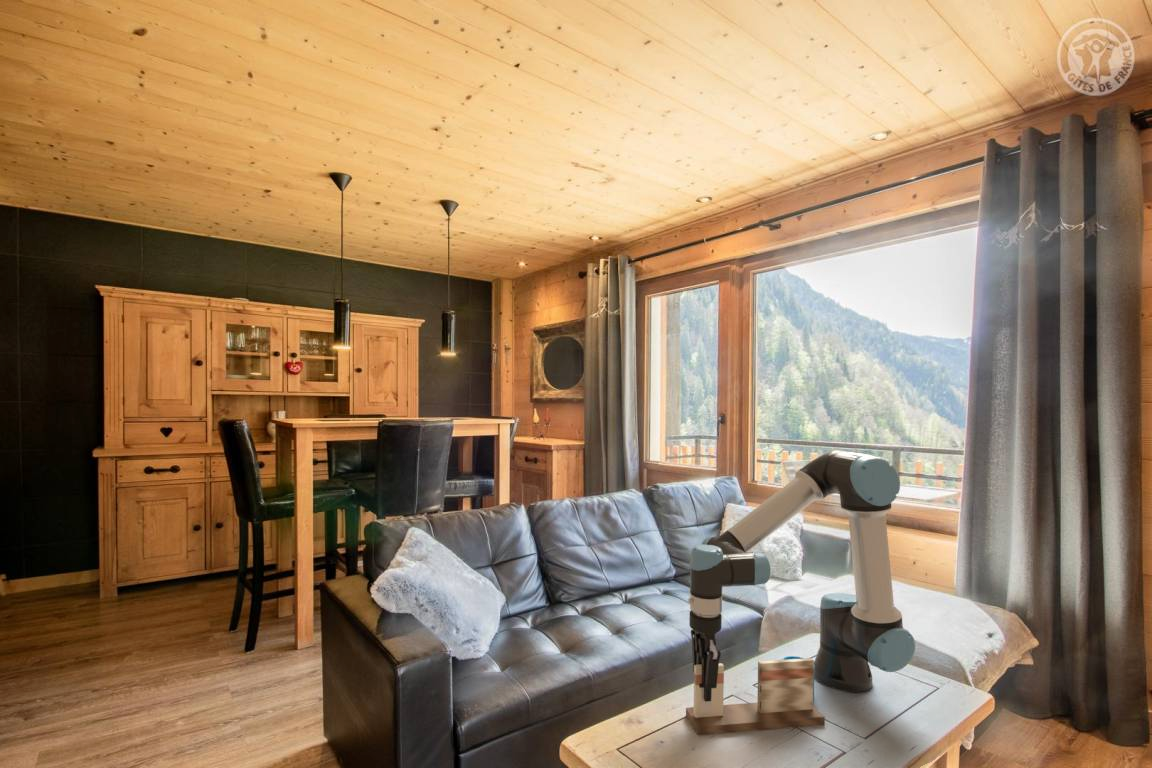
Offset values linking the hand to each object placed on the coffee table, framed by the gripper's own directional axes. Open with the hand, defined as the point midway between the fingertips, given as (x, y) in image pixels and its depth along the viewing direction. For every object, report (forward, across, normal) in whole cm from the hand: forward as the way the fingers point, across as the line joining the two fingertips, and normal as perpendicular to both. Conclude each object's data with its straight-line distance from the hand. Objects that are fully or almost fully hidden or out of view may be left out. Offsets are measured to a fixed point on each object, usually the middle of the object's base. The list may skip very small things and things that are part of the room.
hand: (704, 710), depth 138 cm
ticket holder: (+3, 0, +13) cm, 13 cm away
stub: (+1, 0, +1) cm, 2 cm away
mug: (+4, -12, +30) cm, 33 cm away
